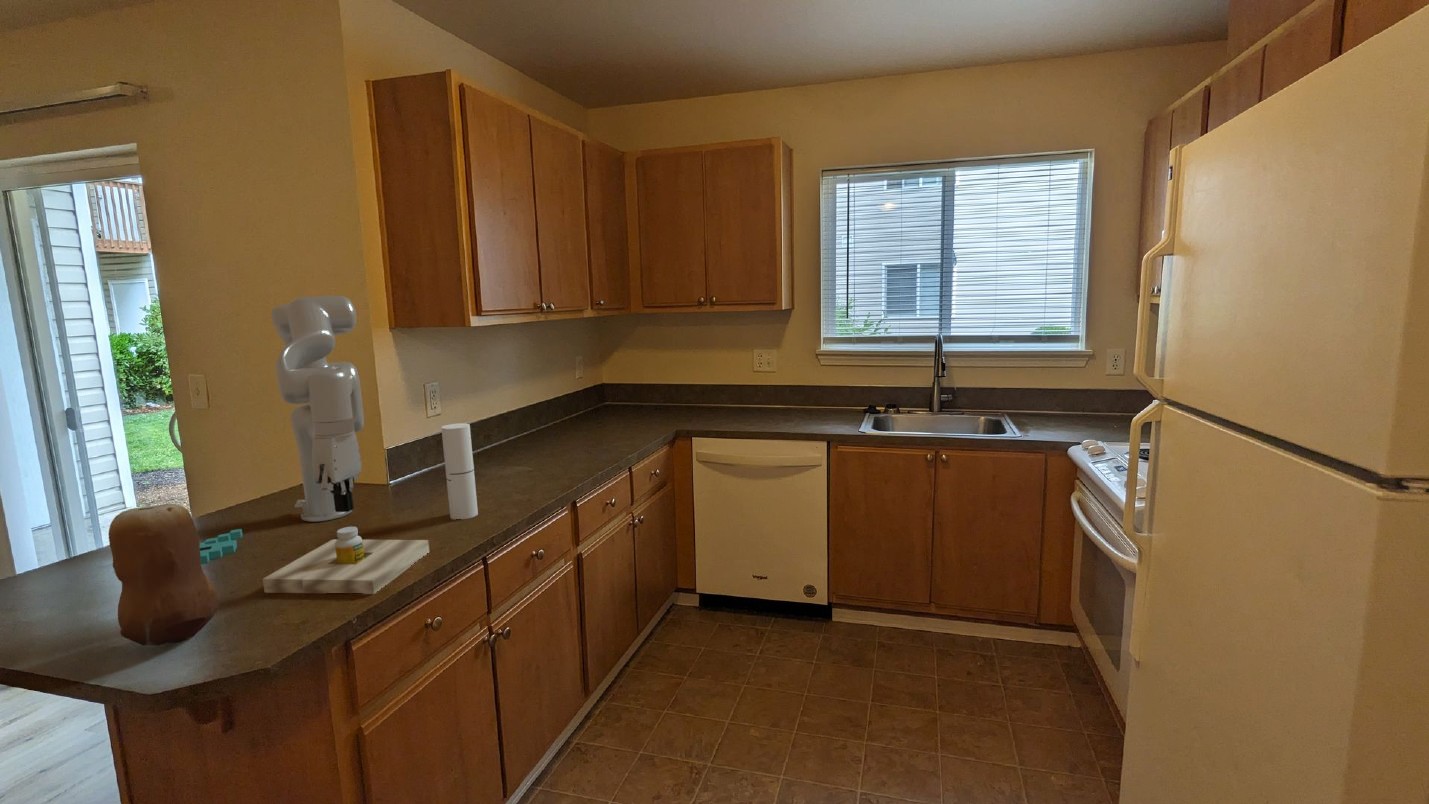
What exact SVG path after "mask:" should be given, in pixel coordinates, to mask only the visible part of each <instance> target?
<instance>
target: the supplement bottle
mask: <svg viewBox="0 0 1429 804" xmlns="http://www.w3.org/2000/svg"><path fill="white" fill-rule="evenodd" d="M358 533H359V530H358V527H357V526H346V527H342V528H339V529H338V530H337V531H336V537H337V539H338V540H337V541H336V542H335V549H336V556H337V563H338V564H357V563H359V562H360V561H362V560H363V559H365V557H364V549H363V541H362V540H363V539H362V536H360V535H358Z"/></svg>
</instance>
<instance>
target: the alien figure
mask: <svg viewBox="0 0 1429 804" xmlns="http://www.w3.org/2000/svg"><path fill="white" fill-rule="evenodd" d="M243 536H244V535H243V530H242V528H238V529H233V530H230V532H228V533H220V534H218V535H217V537H213V538H212V537H211V538H207V539H205V541H203V542H199V543H200V555H201V557H200V562H201V565H203V564H208V563H209V562H210V560H214V559H220V558H222V557H223V555H228V554H233V553H235V552H236V549H237V548H238V545H237V539H238V540H239V539H242V537H243Z"/></svg>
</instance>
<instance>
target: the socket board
mask: <svg viewBox="0 0 1429 804" xmlns="http://www.w3.org/2000/svg"><path fill="white" fill-rule="evenodd" d="M338 539H339V538H337V539H335V538H334V539H330V540H329V541H327V542H325V543H323V544H322V545H320V546H318V547H316V548H314V549H313V550H311V551H309V552H308V553H306V554H304V555H302V556H300V557H299V558H297V559H295V560H293V561H292V562H290V563H288V564H286V565H285V566H283V567H280V568H279V569H277V570H276V571H273V572H272V573H271V574H269V575H267V576H265V577H264V578H262V584H263V590H264V593H267V594H269V593H270V594H273V593H275V594H283V593H284V594H326V593H363V594H362V595H375V594H377V593H378V592H380V590H382V589H383V588H384V587H386V586H387V585H388V584H390V583H391V582H392V581H393V580H395V579H396V578H398V577H399V576H400V575H402V574H403V573H404V572H406V570H408V569H409V568H410V567H412V566H413V565H415V564H416V563H418V562H419V561H420V560H421V559H422V558H424V557H425V556H427V555H428V554H429V553H430V543H429V540H428V539H362V541H363V549H364V557H365V559H363V560H362V561H360V562H359V563H357V564H338V563H337V556H336V549H335V542H336V541H337V540H338ZM427 553H428V554H427ZM423 556H424V557H423ZM419 559H420V560H419ZM418 560H419V561H418ZM415 562H416V563H415ZM414 563H415V564H414ZM411 565H412V566H411ZM385 585H386V586H385ZM381 588H382V589H381ZM377 591H378V592H377Z"/></svg>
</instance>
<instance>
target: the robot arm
mask: <svg viewBox="0 0 1429 804" xmlns="http://www.w3.org/2000/svg"><path fill="white" fill-rule="evenodd" d="M271 319H272V325H273V326H274V329H275V331H276V333H277V335H278V336H279V337H280V338H281V340H282V342H283V344H284V348H283V349H282V350H281V352H280V353H279V354H278V356H277V359H276V360H275V375H276V380H277V387H278V391H279V395H280V396H281V398H282V400H283V401H285V402H286V403H288V404H290V405H298V404H301V405H298V406H297V407H295V408H294V409H292V411H291V412H290V415H289V416H290V417H289V418H290V423H291V427H292V431H293V434H294V438H295V441H296V445H297V450H298V456H299V457H298V458H299V463H300V470H301V471H300V472H301V479H302V483H303V492H304V493H303V494H304V499H297V500H296V503H295V504H294V508H295V509H296V510H297V509H302V513H301V514H300V517H301V518H300V519H301V520H302V521H304V522H314V523H315V522H316V523H317V522H324V521H331V520H335V519H338V518H343V517H344V516H345V517H346V516H347V515H349V514H350V513H352V512H353V510H354V507H355V506H354V501H353V498H354V497H353V493H352V492H353V491H354V483H355V481H356V480H357V479H358V478H359V477H360V473H361V471H362V458H361V451H360V447H359V446H360V445H359V443H358V439H357V434H356V433H359V432H360V431H362V430H363V428H364V426H365V415H364V406H363V396H362V387H361V378H360V374H359V372H358V371H359V370H358V369H357V367H356V366H355V365H354V364H353V363H351V362H348V361H336V362H328V361H327V356H328V355H329V356H330V354H331V353H332V352H333V351H334V349H335V347H336V336H338V335H347V334H349V333H350V332H351V331H353V330H354V329H355V327H356V325H357V311H356V308H355V306H354V304H353V302H352V300H350V298H348V297H346V296H343V295H323V296H322V295H321V296H320V295H318V296H315V295H314V296H301V297H297V298H295V299H294V300H291V301H290V302H289V303H285V304H280V305H277V306H275V307H274V308H272V310H271ZM335 335H336V336H335Z"/></svg>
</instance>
